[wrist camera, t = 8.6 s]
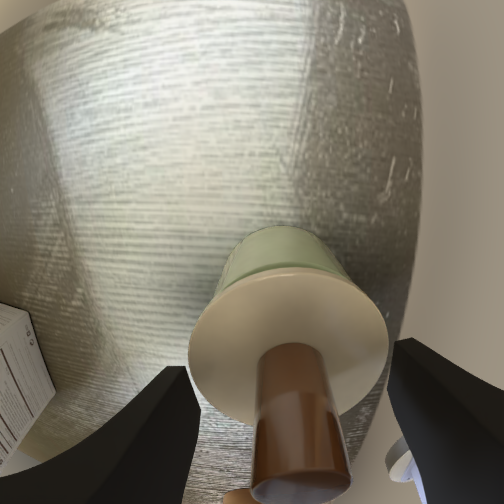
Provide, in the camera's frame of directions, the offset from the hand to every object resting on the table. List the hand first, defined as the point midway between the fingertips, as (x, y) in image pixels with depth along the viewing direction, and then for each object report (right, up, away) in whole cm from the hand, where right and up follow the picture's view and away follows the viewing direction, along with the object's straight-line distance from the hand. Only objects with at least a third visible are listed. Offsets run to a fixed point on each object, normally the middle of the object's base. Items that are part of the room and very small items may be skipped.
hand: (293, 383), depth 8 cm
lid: (0, 0, +1) cm, 1 cm away
